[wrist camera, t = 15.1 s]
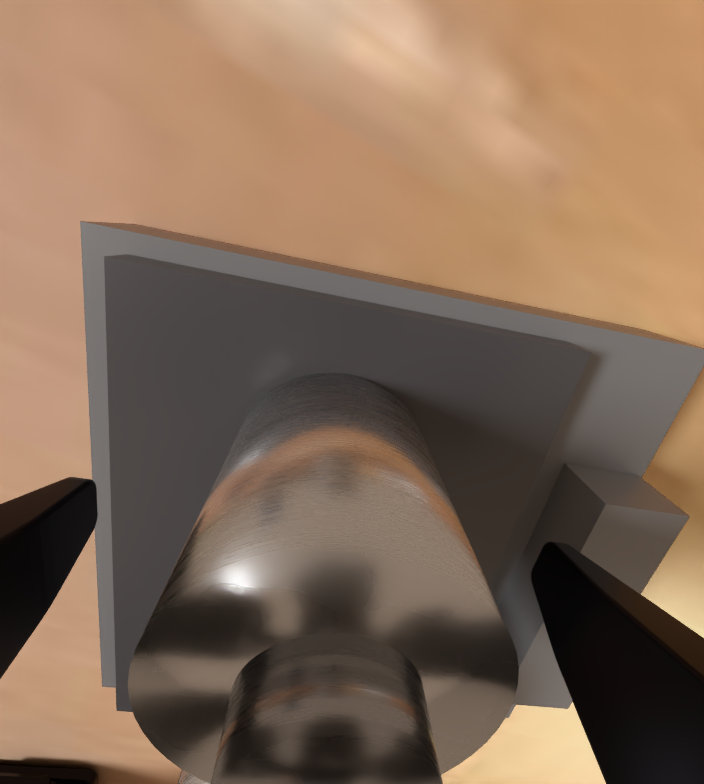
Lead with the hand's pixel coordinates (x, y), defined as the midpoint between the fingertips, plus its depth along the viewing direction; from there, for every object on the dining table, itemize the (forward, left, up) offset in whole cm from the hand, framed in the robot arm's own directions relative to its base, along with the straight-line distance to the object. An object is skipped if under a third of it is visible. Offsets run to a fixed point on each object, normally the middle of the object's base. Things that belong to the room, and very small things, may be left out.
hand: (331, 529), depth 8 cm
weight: (0, 0, -2) cm, 2 cm away
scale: (-3, -2, -6) cm, 7 cm away
